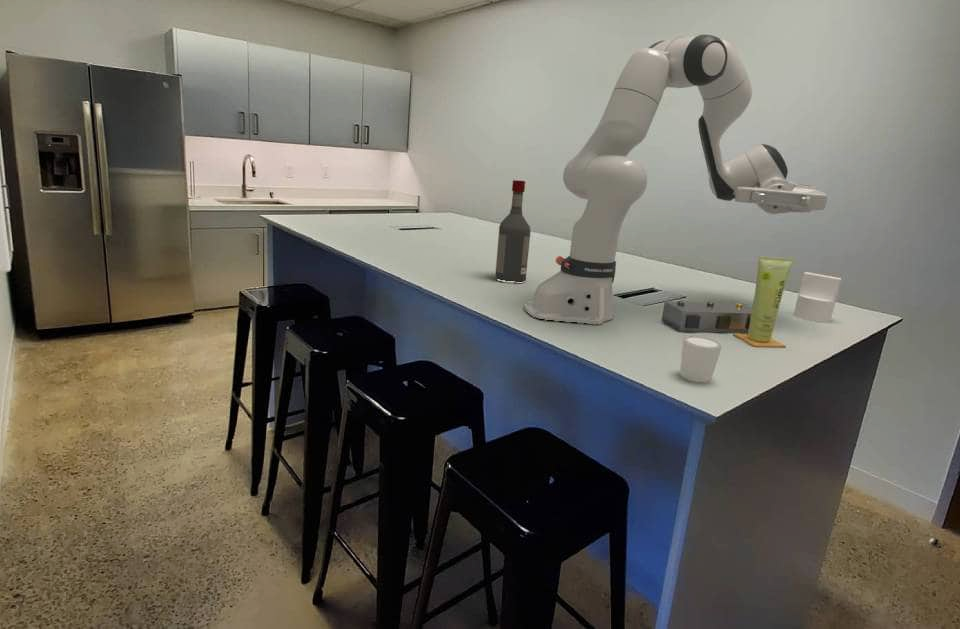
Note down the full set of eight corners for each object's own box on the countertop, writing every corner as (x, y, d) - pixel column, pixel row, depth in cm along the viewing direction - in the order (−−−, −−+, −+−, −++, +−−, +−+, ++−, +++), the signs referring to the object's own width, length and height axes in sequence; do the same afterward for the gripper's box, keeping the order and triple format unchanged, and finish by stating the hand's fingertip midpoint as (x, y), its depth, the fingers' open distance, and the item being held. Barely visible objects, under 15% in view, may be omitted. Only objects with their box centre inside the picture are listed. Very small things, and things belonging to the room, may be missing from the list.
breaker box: (680, 332, 133) (684, 309, 131) (661, 320, 142) (665, 298, 140) (763, 334, 136) (768, 312, 135) (740, 322, 145) (744, 301, 144)
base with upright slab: (789, 316, 155) (799, 274, 152) (798, 311, 162) (808, 270, 158) (826, 324, 149) (837, 281, 146) (833, 319, 156) (844, 277, 152)
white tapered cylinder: (710, 387, 101) (718, 351, 99) (672, 377, 105) (678, 341, 103) (717, 376, 107) (725, 341, 105) (681, 366, 110) (687, 333, 108)
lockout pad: (754, 347, 126) (754, 345, 126) (733, 335, 134) (733, 333, 133) (785, 347, 127) (786, 345, 127) (763, 335, 135) (763, 334, 135)
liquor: (495, 282, 169) (504, 180, 160) (495, 275, 177) (503, 178, 169) (525, 284, 169) (536, 182, 160) (523, 277, 178) (533, 181, 169)
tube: (762, 344, 127) (782, 260, 121) (741, 338, 131) (759, 255, 125) (774, 340, 130) (793, 258, 125) (753, 334, 134) (771, 254, 128)
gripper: (735, 180, 147) (738, 181, 135) (822, 187, 141) (834, 189, 128) (730, 204, 149) (733, 208, 137) (816, 212, 142) (827, 217, 130)
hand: (783, 199), depth 132 cm, fingers open, 8 cm apart
